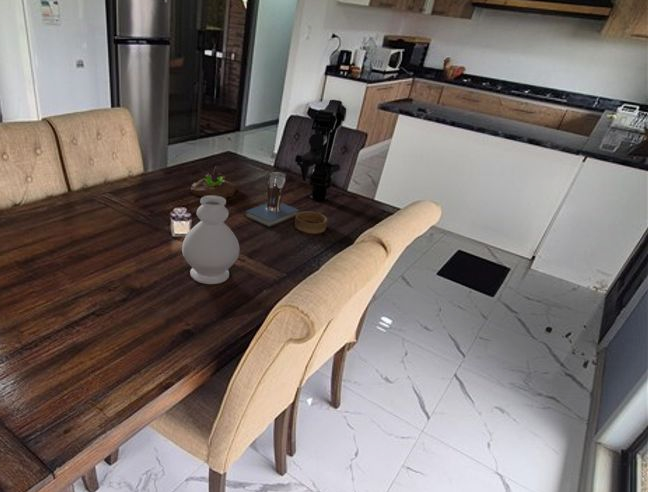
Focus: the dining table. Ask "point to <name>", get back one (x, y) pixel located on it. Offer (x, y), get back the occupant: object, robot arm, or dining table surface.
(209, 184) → the plant
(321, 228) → the wooden bowl
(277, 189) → the beer glass
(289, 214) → the book
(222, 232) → the decorative vase
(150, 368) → the dining table surface
